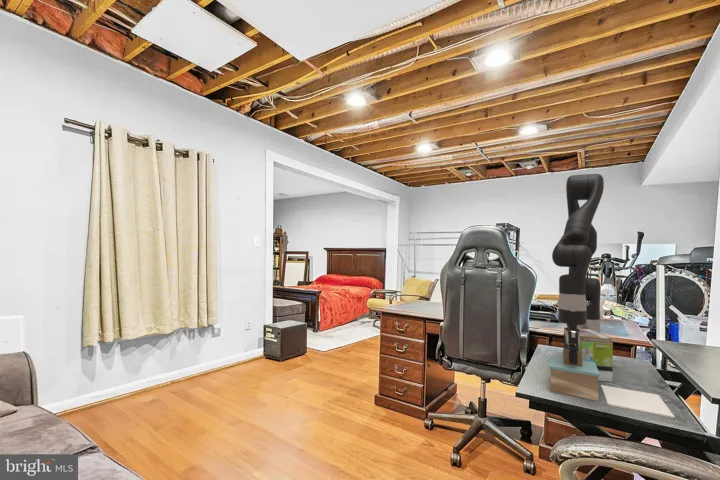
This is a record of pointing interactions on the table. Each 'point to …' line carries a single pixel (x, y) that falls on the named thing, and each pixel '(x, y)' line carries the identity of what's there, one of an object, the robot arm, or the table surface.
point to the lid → (581, 367)
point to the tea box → (596, 351)
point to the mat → (636, 401)
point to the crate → (574, 384)
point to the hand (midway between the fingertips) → (572, 360)
